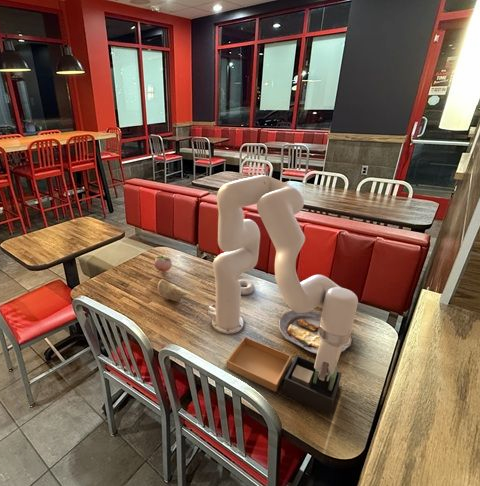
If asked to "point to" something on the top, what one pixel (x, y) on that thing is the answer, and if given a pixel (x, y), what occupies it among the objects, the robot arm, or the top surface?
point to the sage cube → (332, 378)
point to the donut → (246, 287)
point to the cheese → (170, 290)
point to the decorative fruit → (162, 263)
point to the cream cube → (302, 376)
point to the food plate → (304, 329)
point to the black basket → (311, 395)
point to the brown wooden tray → (259, 363)
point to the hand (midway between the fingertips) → (324, 380)
